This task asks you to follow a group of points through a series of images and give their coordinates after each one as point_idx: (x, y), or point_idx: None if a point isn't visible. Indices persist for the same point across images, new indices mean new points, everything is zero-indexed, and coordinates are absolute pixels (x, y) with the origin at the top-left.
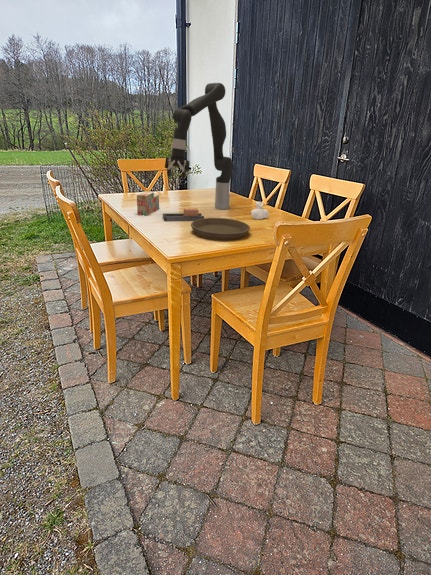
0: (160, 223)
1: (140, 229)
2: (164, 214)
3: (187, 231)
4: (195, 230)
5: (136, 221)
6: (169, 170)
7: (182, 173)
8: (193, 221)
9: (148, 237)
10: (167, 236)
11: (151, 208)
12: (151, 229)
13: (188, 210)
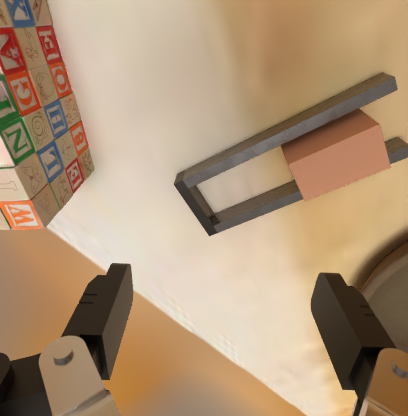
0: (210, 255)
1: (184, 323)
2: (190, 198)
3: None
4: None
5: (118, 260)
6: (108, 372)
7: (341, 369)
8: None
9: (237, 364)
10: (281, 350)
11: (64, 116)
12: (213, 316)
13: (324, 192)
